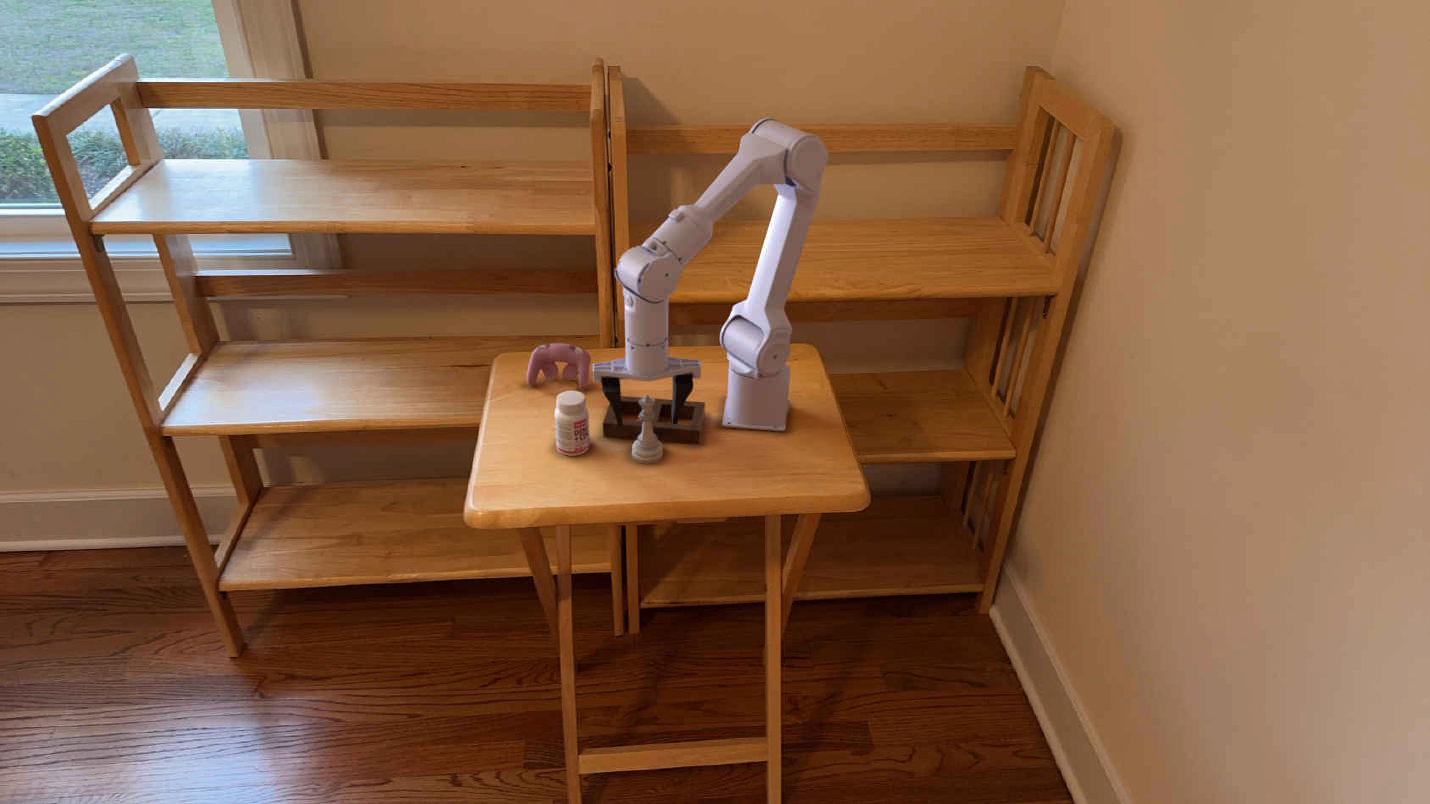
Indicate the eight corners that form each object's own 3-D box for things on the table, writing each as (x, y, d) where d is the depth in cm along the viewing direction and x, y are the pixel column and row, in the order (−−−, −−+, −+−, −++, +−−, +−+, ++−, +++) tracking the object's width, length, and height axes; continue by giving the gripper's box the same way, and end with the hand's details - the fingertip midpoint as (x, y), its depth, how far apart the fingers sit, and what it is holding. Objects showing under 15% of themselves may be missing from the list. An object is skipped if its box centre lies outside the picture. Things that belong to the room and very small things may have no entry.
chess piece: (666, 461, 136) (666, 402, 130) (635, 466, 134) (635, 406, 129) (658, 444, 139) (658, 385, 134) (629, 448, 138) (628, 389, 133)
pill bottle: (580, 459, 135) (578, 409, 131) (550, 452, 137) (547, 402, 132) (595, 442, 139) (593, 393, 135) (566, 435, 140) (563, 386, 136)
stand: (704, 416, 146) (705, 402, 145) (699, 444, 139) (699, 430, 138) (612, 408, 147) (612, 395, 146) (603, 437, 140) (602, 423, 139)
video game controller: (591, 388, 155) (594, 345, 154) (585, 390, 150) (588, 346, 149) (531, 383, 155) (533, 340, 155) (523, 385, 151) (526, 341, 150)
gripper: (697, 320, 131) (695, 404, 138) (590, 323, 129) (594, 408, 136) (703, 345, 125) (701, 431, 132) (592, 349, 123) (595, 436, 130)
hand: (647, 421), depth 134 cm, fingers open, 7 cm apart
